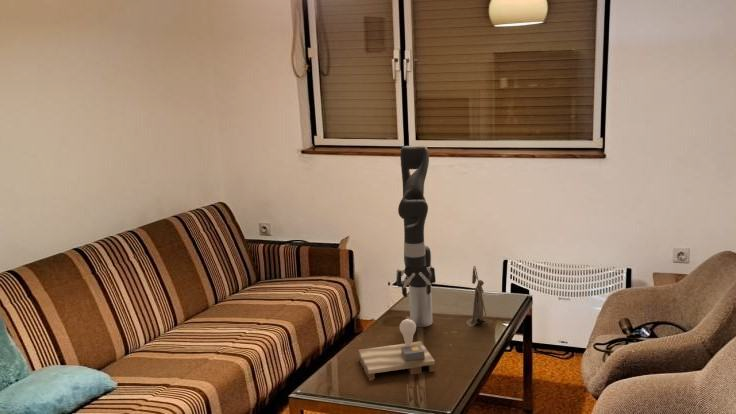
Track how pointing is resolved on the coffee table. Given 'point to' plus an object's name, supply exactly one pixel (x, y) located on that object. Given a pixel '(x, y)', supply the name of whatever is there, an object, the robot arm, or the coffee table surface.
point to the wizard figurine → (477, 301)
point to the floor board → (392, 360)
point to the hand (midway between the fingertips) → (416, 295)
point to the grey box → (412, 353)
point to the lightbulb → (408, 331)
